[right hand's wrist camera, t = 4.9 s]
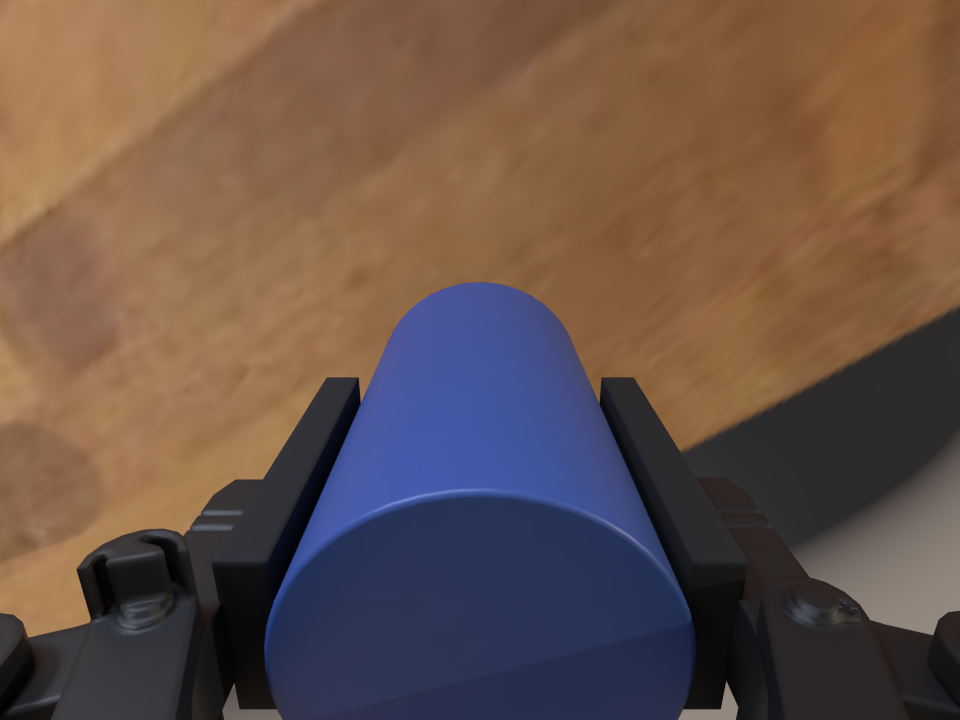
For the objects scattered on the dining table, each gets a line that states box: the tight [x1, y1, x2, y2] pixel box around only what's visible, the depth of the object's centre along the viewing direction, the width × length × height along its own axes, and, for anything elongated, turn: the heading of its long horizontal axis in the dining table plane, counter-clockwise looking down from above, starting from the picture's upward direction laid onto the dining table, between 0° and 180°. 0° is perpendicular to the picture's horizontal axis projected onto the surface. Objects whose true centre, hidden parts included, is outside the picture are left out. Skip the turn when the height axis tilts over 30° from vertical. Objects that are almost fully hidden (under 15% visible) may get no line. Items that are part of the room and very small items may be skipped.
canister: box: [264, 282, 696, 720], centre depth 13 cm, size 6×6×10 cm
